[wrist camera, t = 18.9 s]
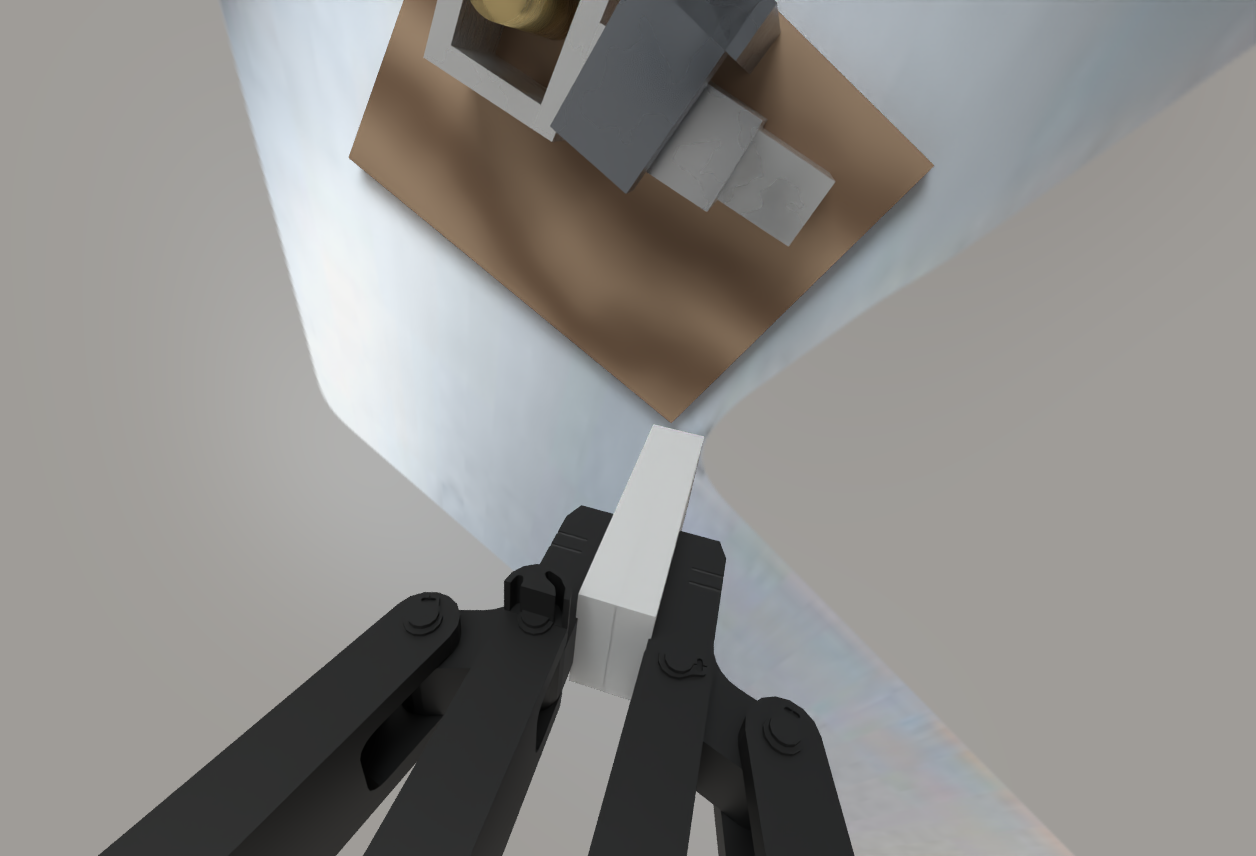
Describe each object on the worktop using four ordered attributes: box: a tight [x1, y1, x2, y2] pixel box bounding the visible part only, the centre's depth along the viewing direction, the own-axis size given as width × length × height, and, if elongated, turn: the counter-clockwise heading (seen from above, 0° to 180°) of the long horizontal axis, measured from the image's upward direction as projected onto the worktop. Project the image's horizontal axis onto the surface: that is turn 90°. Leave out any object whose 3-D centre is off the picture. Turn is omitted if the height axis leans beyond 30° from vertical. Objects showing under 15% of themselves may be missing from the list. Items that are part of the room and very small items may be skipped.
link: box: [423, 0, 835, 247], centre depth 25 cm, size 19×7×6 cm, turn 61°
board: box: [349, 0, 934, 423], centre depth 30 cm, size 20×26×1 cm
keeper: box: [550, 0, 781, 194], centre depth 24 cm, size 8×5×9 cm, turn 142°
